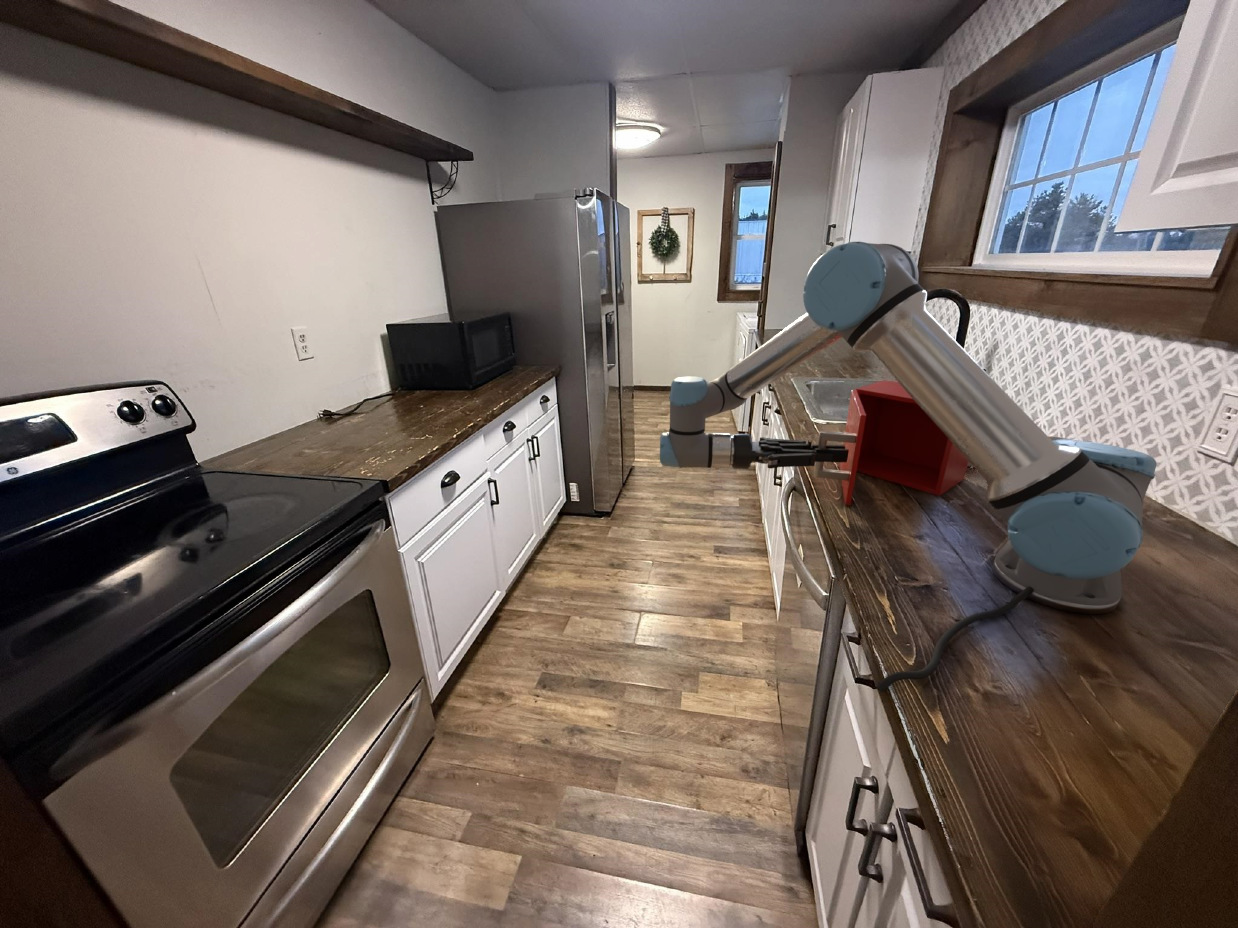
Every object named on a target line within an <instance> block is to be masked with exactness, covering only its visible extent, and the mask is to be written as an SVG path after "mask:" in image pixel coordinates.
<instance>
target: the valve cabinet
mask: <svg viewBox="0 0 1238 928" xmlns="http://www.w3.org/2000/svg"><path fill="white" fill-rule="evenodd" d="M855 390H856V391H857V393H858V396H859V398H860V401H861V403H862V406H863V409H864V411H865V414H866V420H865V426H864V431H863V437H862V443H861V448H860V454H859V460H858V466H857V471H856V472H858V473H862V474H865V475H869V476H872V477H876V478H879V479H882V480H885V481H889V482H892V483H894V484H899V485H903V486H906V487H909V488H912V489H915V490H918V491H922V492H925V493H928V494H931V495H936V496H941V495H943V494H944V493H946V492H947V491H949V490H950V489H951V488H953V487H955V486H956V485H957V484H959V483H960V482H962V481H963V480H965V477H966V474H967V473H966V472H967V469H968V466H967V465H968V460H967V458H966V457H965V456H964V455H963V454H962V453H961V452H960V451H959V450H958V448H957V447H956V446H955V445H954V444H953V443H952V442H951V441H950V440H949V438H948V437H947V436H946V435H945V434H944V433H943V432H942V431H941V430H940V428H939V427H938V426H937V425H936V424H935V423H934V422H933V421H932V419H931V418H930V417H929V416H928V415H927V414H926V413H925V412H924V411H923V409H922V408H921V407H920V406H919V405H918V404H917V403H916V402H915V401H914V399H913V398H912V397H911V396H910V395H909V394H908V393H907V392H906V391H905V389H904V388H903V387H902V386H901V385H900V384H899V383H898V382H897V381H894V380H888V379H887V380H886V379H883V380H880V381H876V382H874V383H870V384H867V385H864V386H860V387H858V388H855Z"/></svg>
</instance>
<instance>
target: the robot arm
mask: <svg viewBox="0 0 1238 928" xmlns="http://www.w3.org/2000/svg"><path fill="white" fill-rule="evenodd" d="M927 298H928V292H927V291H926V289H924V288H923V287H922V285H920V283H919V268H918V265H917V263H916V260H915V259H914V258H913V256H912V255H911V253H909V252H908V250H906V249H904V248H903V247H901V246H898V245H896V244H893V243H892V244H891V243H871V242H864V241H860V240H859V241H849V242H846V243H842V244H839V245H836V246H834V247H832V248H830V249H828V250H827V251H825V252H824V253H823V254H821V255H820V256H819V257H818V258H817V259H816V261H815V262H814V263H813V264H812V266H811V267H810V268H809V270H808V272H807V275H806V277H805V280H804V284H803V293H802V301H803V306H804V309H805V311H806V313H805V314H803V315H802V316H800V317H798V319H796V320H794V322H792V323H791V324H789V325H788V326H787V327H785V328H784V329H783V330H782V331H780V332H778V333H777V334H776V335H774V336H773V337H771V338H770V339H769V340H768V341H766V342H765V343H763V344H762V345H761V346H759V347H758V348H757V349H755V350H754V351H752V352H751V353H749V354H748V355H747V356H746V357H744V358H743V359H742V360H740V361H739V362H738V363H736V364H734V365H733V366H731V368H729V369H728V370H727V371H726V372H724V373H723V374H721V375H720V376H718V377H717V378H715V379H712V380H708V381H707V380H706V379H705V378H703V377H700V376H693V375H691V376H689V375H688V376H679V377H676V378H674V379H673V380H672V382H671V384H670V395H669V398H668V399H669V429H668V431H667V432H662V433H661V434H660V437H659V440H660V441H659V462H660V464H661V465H662V466H663V467H671V468H679V469H683V468H686V469H687V468H691V469H692V468H694V469H696V468H697V469H698V468H700V469H701V468H703V469H714V470H716V471H718V470H720V469H730V467H731V468H733V470H735V469H736V470H749V469H750V468H751V466H752V463H758V464H761V465H762V464H763V465H766V466H767V469H776V468H791V467H793V468H794V467H795V468H797V467H815V464H816V462H824V463H840V462H847V459H848V453H849V450H848V449H845V446H844V445H843V444H826V449H822V448H818V444H813V440H811V439H807V441H806V440H799V439H783V438H770V437H765V436H761V437H759V441H757V440H756V441H753V438H752V436H751V434H749V433H734V434H732V435H731V433H720V432H719V433H713V432H712V433H705V431H706V419H708V418H711V417H713V416H716V415H719V414H721V413H725V412H727V411H728V412H729V411H733V410H736V409H737V408H740V407H741V406H742V405H744V404H745V403H746V402H747V400H748V399H749V398H750V397H752V396H753V395H755V394H757V393H758V392H760V391H762V390H763V389H764V388H766V387H767V386H769V385H770V384H772V383H774V382H775V381H777V380H778V379H780V378H782V377H783V376H785V375H786V374H788V373H789V372H791V371H792V370H794V369H795V368H797V367H799V366H800V365H802V364H804V363H805V362H806V361H808V360H810V359H811V358H813V357H815V356H816V355H817V354H819V353H821V352H822V351H824V350H825V349H827V348H829V347H830V346H832V345H833V344H835V343H836V342H838V341H840V340H841V339H843V340H844V341H845V342H846V343H847V344H848V345H849V346H850V347H851V349H852V350H853V351H855V352H868V353H871V354H872V356H873V357H875V359H876V360H878V362H879V363H880V364H881V365H882V367H884V369H886V371H887V372H888V373H889V374H890V375H891V376H892V377H893V378H894V379H895V382H898V383H899V384H900V385H901V386H902V387H903V388H904V389H905V391H906V392H907V393H908V394H909V395H910V396H911V397H912V398H913V399H914V401H915V402H916V403H917V404H918V405H919V406H920V407H921V408H922V409H923V411H924V412H925V413H926V414H927V415H928V416H929V417H930V418H931V419H932V421H933V422H934V423H935V424H936V425H937V426H938V427H939V428H940V430H941V431H942V432H943V433H944V434H945V435H946V436H947V437H948V438H949V440H950V441H951V442H952V443H953V444H954V445H955V446H956V447H957V448H958V450H959V451H960V452H961V453H962V454H963V455H964V456H965V457H966V458H967V460H968V461H969V462H970V463H971V464H972V465H973V466H974V467H973V468H974V469H975V470H976V471H977V472H978V473H979V474H980V475H981V477H983V479H984V480H985V481H986V483H987V484H986V485H987V487H986V491H985V495H984V496H985V500H987V502H988V503H989V504H990V506H992V507H993V509H994V510H995V512H997V513H998V514H999V516H1000V517H1001V518H1002V519H1003V520H1004V521H1005V522H1006V524H1007V530H1006V533H1007V536H1008V540H1007V541H1006V542H1005V543H1004V545H1003V546H1002V547H1001V548H1000V549H999V550H998V552H997V553H996V554H995V557H994V559H993V561H992V562H993V563H992V566H991V567H992V569H991V570H992V572H993V574H994V575H995V577H996V578H997V579H998V580H999V581H1000V582H1001V583H1002V584H1004V585H1005V586H1006V587H1007V588H1009V589H1010V590H1011V591H1013V592H1015V593H1017V594H1016V595H1015V596H1014V597H1012V598H1011V600H1009V601H1008V602H1007V603H1005V604H1004V605H1002V606H1000V607H998V608H995V609H991V610H985V611H982V612H977V613H974V614H971V615H968V616H966V617H964V618H962V619H961V620H959V621H957V622H955V623H954V624H953V625H951V626H950V627H949V628H948V629H947V630H946V631H944V633H943V634H942V635H941V636H940V637H939V638H938V640H937V642H936V644H934V645H935V646H934V648H933V651H932V655H931V658H930V661H929V663H928V664H927V665H926V666H924V667H923V668H922V669H919V670H904V671H903V670H902V671H897V672H896V671H895V672H893V673H891V674H889V675H887V676H885V677H884V678H883V679H882V680H881V681H880V682H879V683H878V684H877V686H876V689H877V691H879V692H886V691H887V689H888V688H889V687H891V686H892V685H893V684H894V683H896V682H899V681H902V680H922V679H926V678H927V677H929V676H930V675H932V674H933V673H934V672H935V671H936V670H937V668H938V666H939V665H940V663H941V658H942V655H943V651H944V649H945V646H946V645H947V644H948V643H949V641H950V640H951V639H952V638H953V637H954V636H955V635H956V634H958V632H960V631H961V630H963V629H964V628H966V627H968V626H970V625H971V624H974V623H976V622H978V621H983V620H985V619H986V620H987V619H990V618H995V617H998V616H1002V615H1005V614H1006V613H1009V612H1011V611H1012V610H1013V609H1015V608H1016V607H1017V606H1018V605H1019V604H1020V603H1021V602H1023V601H1024V600H1025V599H1029V600H1031V601H1034V602H1036V603H1038V604H1041V605H1044V606H1047V607H1050V608H1053V609H1057V610H1061V611H1066V612H1071V613H1074V614H1075V613H1076V614H1084V615H1101V614H1106V613H1110V612H1111V613H1112V612H1113V611H1114V610H1116V609H1117V608H1118V605H1119V604H1120V601H1121V599H1122V594H1123V585H1122V570H1121V569H1123V568H1124V567H1126V566H1127V565H1128V564H1130V562H1131V561H1132V560H1133V559H1134V557H1135V555H1136V554H1137V552H1138V550H1139V549H1140V547H1141V544H1142V542H1143V540H1144V533H1143V513H1144V512H1143V511H1144V510H1143V509H1144V508H1143V507H1144V499H1145V497H1146V494H1147V491H1148V490H1149V486H1150V483H1151V481H1152V480H1154V479H1155V477H1156V474H1155V472H1156V469H1157V465H1158V463H1157V461H1156V459H1155V458H1154V457H1153V456H1152V455H1149V454H1147V453H1145V452H1141V451H1139V450H1134V449H1130V448H1126V447H1123V446H1122V447H1121V446H1117V445H1112V444H1107V443H1099V442H1093V441H1086V440H1078V439H1072V440H1054V441H1052V440H1051V439H1050V438H1049V437H1048V436H1049V435H1047V434H1046V432H1044V431H1043V430H1042V428H1041V427H1039V425H1037V423H1035V422H1034V420H1032V418H1031V417H1030V416H1029V415H1028V414H1027V413H1026V412H1025V411H1024V410H1023V409H1022V408H1021V407H1020V406H1019V405H1018V403H1016V402H1015V401H1014V400H1013V399H1012V398H1011V397H1010V395H1008V393H1007V392H1006V391H1005V390H1004V389H1003V388H1002V387H1001V386H1000V385H999V383H997V382H996V381H995V380H994V379H993V378H992V377H991V376H990V374H988V373H987V372H986V371H985V370H984V368H983V367H981V365H980V364H979V363H977V361H976V360H975V359H974V358H973V357H972V356H971V355H970V354H969V353H968V352H967V351H966V350H965V349H964V348H963V346H961V344H960V343H958V341H956V339H954V338H953V336H952V335H951V334H949V332H948V331H947V330H946V329H945V328H944V327H943V326H942V324H940V323H939V321H937V319H935V318H934V317H933V315H932V314H930V313H929V311H928V310H927V308H926V304H927Z"/></svg>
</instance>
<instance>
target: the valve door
mask: <svg viewBox="0 0 1238 928" xmlns="http://www.w3.org/2000/svg"><path fill="white" fill-rule="evenodd" d="M848 404H849V405H848V411H847V416H846V417H847V418H846V424H845V430H844V432H841V431H830V430H820V431H819V434H818V435H819V436H818V442H817V445H818V448H822V449H826V445H828V442H836V443H837V442H838V443H842V445H844V446H845V449H848V450H849V453H848V459H847V462H839V469H830V468H824V464H825V462H815V466H814V472H813V477H814V478H819V479H820V478H821V479H829V480H839V481H841V485H842V492H843V498H844V504H845V506H851V505H852V499H853V494H854V489H855V482H856V475H857V472H858V471H857V466H858V460H859V454H860V448H861V443H862V437H863V431H864V426H865V420H866V414H865V411H864V409H863V406H862V403H861V401H860V398H859V396H858V393H857V391H856V389H852V390H851V392H850V399H849V403H848Z"/></svg>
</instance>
